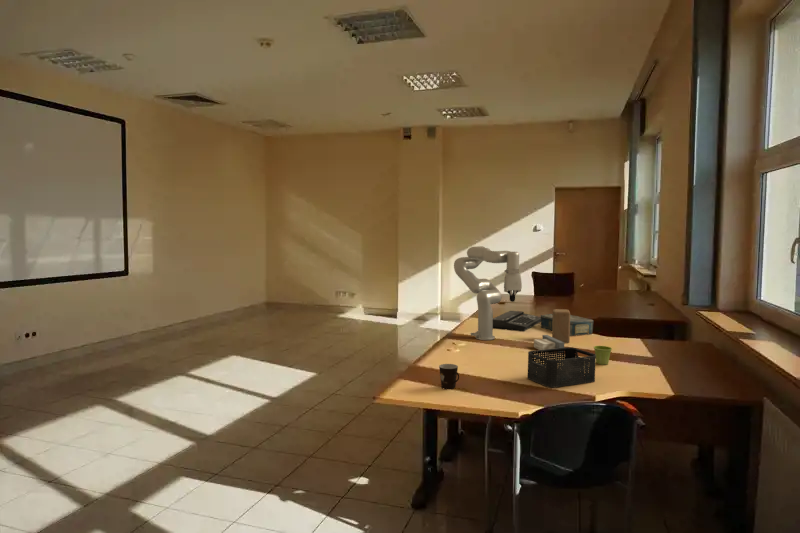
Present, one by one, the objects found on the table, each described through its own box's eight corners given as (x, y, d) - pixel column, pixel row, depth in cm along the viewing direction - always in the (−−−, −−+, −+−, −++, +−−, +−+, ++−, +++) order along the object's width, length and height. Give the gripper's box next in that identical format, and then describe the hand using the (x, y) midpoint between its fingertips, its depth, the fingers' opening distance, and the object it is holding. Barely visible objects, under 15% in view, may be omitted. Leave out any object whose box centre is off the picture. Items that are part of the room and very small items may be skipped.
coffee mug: (437, 384, 255) (437, 364, 254) (455, 384, 256) (455, 363, 255) (441, 392, 244) (441, 370, 243) (460, 392, 244) (460, 370, 243)
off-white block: (542, 352, 318) (542, 343, 318) (533, 347, 330) (533, 339, 330) (555, 351, 320) (555, 343, 320) (546, 347, 332) (546, 338, 331)
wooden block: (569, 343, 340) (570, 311, 338) (553, 342, 342) (553, 311, 340) (568, 339, 350) (568, 309, 348) (551, 339, 352) (552, 308, 350)
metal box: (568, 337, 359) (569, 322, 359) (539, 328, 389) (539, 314, 389) (594, 334, 367) (594, 320, 366) (563, 326, 397) (563, 312, 396)
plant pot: (612, 362, 294) (612, 346, 294) (611, 366, 286) (611, 350, 285) (593, 360, 298) (594, 345, 298) (592, 364, 290) (592, 348, 289)
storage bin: (570, 371, 277) (571, 345, 276) (598, 382, 260) (599, 354, 258) (524, 378, 266) (524, 351, 265) (550, 389, 248) (550, 360, 247)
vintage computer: (527, 331, 375) (526, 320, 375) (487, 329, 389) (487, 317, 389) (542, 322, 413) (542, 312, 412) (506, 320, 427) (506, 310, 426)
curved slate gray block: (559, 353, 315) (559, 342, 315) (542, 344, 337) (542, 335, 336) (564, 352, 316) (564, 342, 315) (546, 344, 337) (546, 334, 337)
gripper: (503, 272, 328) (503, 302, 330) (526, 272, 331) (526, 301, 333) (498, 271, 335) (498, 300, 337) (521, 270, 338) (521, 300, 340)
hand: (512, 301), depth 335 cm, fingers closed
